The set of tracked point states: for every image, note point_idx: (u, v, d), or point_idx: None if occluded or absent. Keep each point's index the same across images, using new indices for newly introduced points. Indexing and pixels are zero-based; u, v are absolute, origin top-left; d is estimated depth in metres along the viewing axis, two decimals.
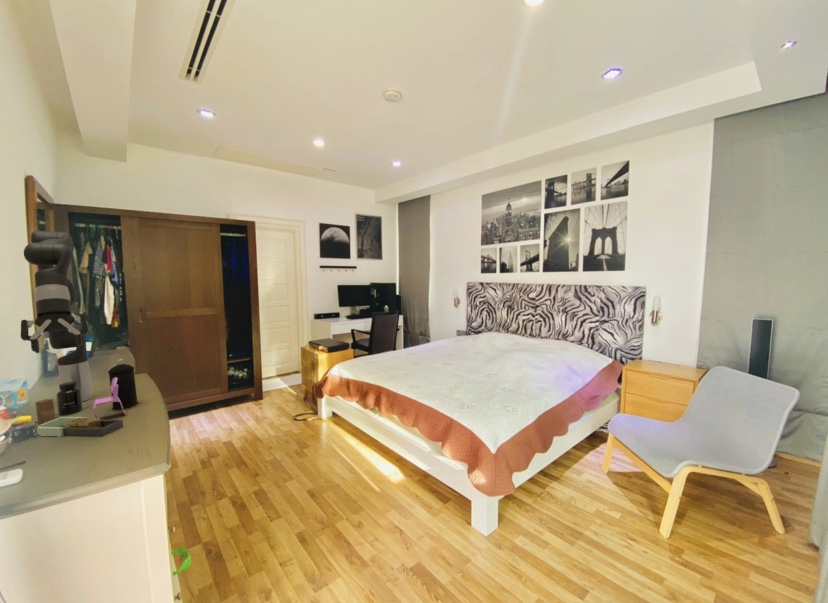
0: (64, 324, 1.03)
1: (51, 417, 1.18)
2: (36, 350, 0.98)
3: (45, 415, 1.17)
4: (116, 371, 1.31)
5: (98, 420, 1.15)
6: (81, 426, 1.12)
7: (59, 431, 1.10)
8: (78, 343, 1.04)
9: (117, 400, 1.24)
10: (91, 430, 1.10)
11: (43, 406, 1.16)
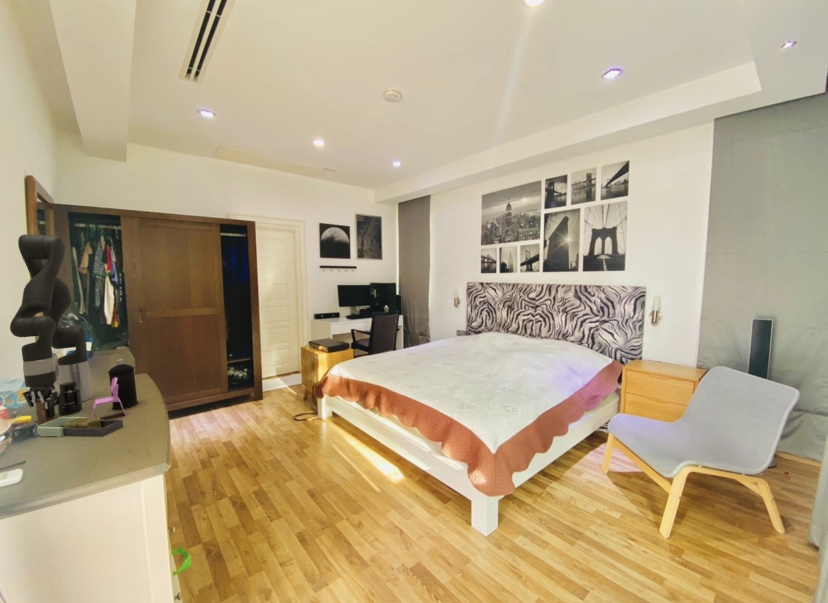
0: (40, 397, 1.16)
1: None
2: None
3: (45, 415, 1.17)
4: (116, 371, 1.31)
5: (98, 420, 1.15)
6: (81, 426, 1.12)
7: (59, 431, 1.10)
8: (48, 416, 1.17)
9: (117, 400, 1.24)
10: (91, 430, 1.10)
11: (43, 406, 1.16)
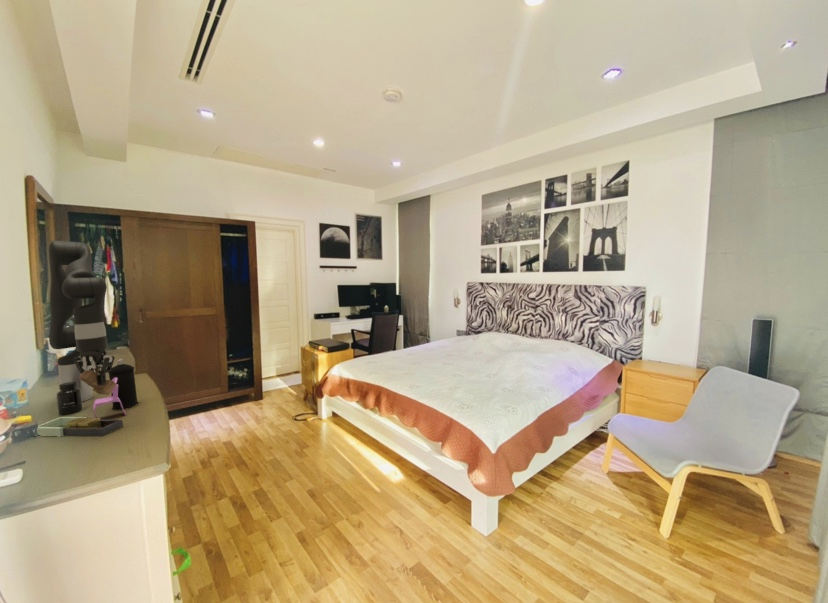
0: (92, 362, 1.10)
1: None
2: (89, 385, 1.11)
3: None
4: (116, 371, 1.31)
5: (98, 420, 1.15)
6: (81, 426, 1.12)
7: (59, 431, 1.10)
8: (99, 383, 1.11)
9: (117, 400, 1.24)
10: (91, 430, 1.10)
11: (90, 380, 1.09)
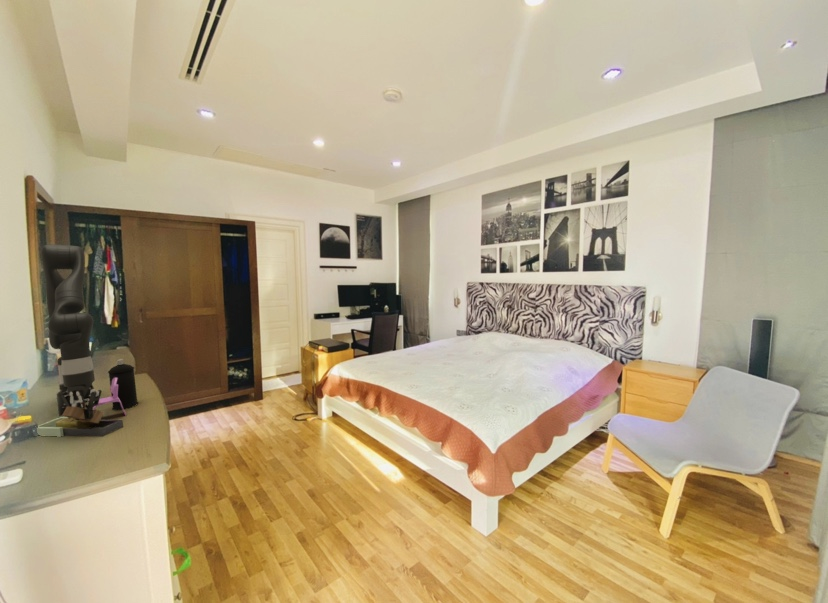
0: (79, 397, 1.11)
1: None
2: (76, 419, 1.12)
3: None
4: (116, 371, 1.31)
5: None
6: (69, 425, 1.13)
7: (59, 431, 1.10)
8: (86, 417, 1.12)
9: (117, 400, 1.24)
10: (91, 430, 1.10)
11: (74, 416, 1.09)
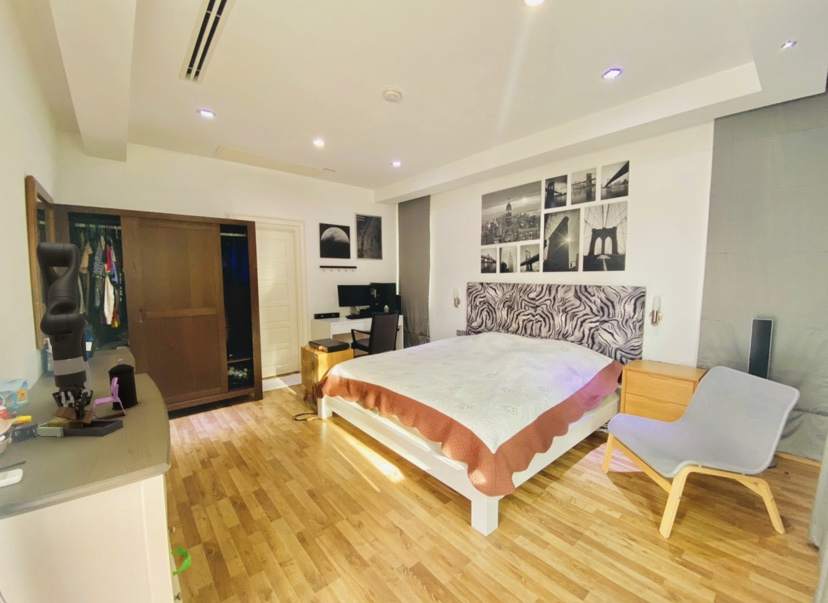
0: (70, 397, 1.11)
1: None
2: (68, 419, 1.13)
3: None
4: (116, 371, 1.31)
5: None
6: (62, 425, 1.13)
7: (59, 431, 1.10)
8: (78, 417, 1.12)
9: (117, 400, 1.24)
10: (91, 430, 1.10)
11: (65, 416, 1.09)
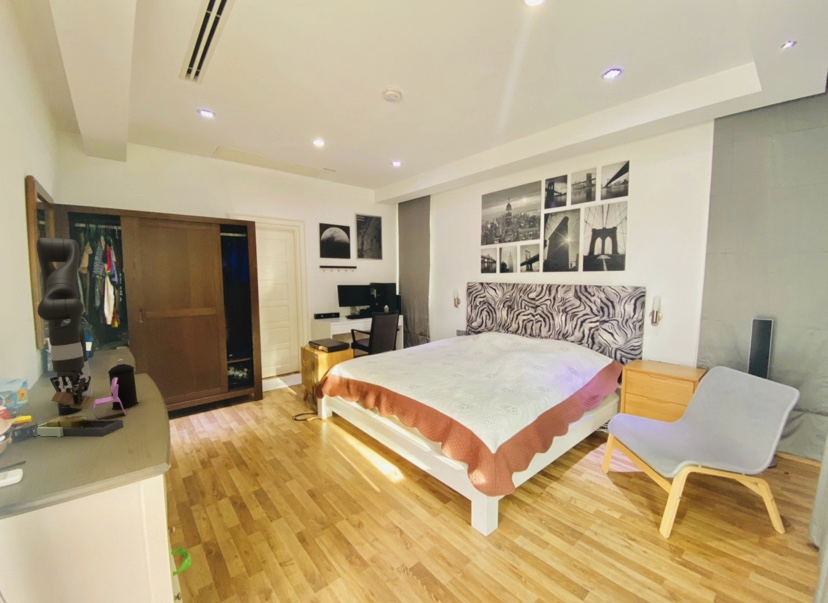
0: (68, 382, 1.11)
1: None
2: (65, 404, 1.13)
3: None
4: (116, 371, 1.31)
5: (80, 418, 1.17)
6: (63, 424, 1.14)
7: (59, 431, 1.10)
8: (76, 402, 1.13)
9: (117, 400, 1.24)
10: (91, 430, 1.10)
11: (63, 401, 1.09)
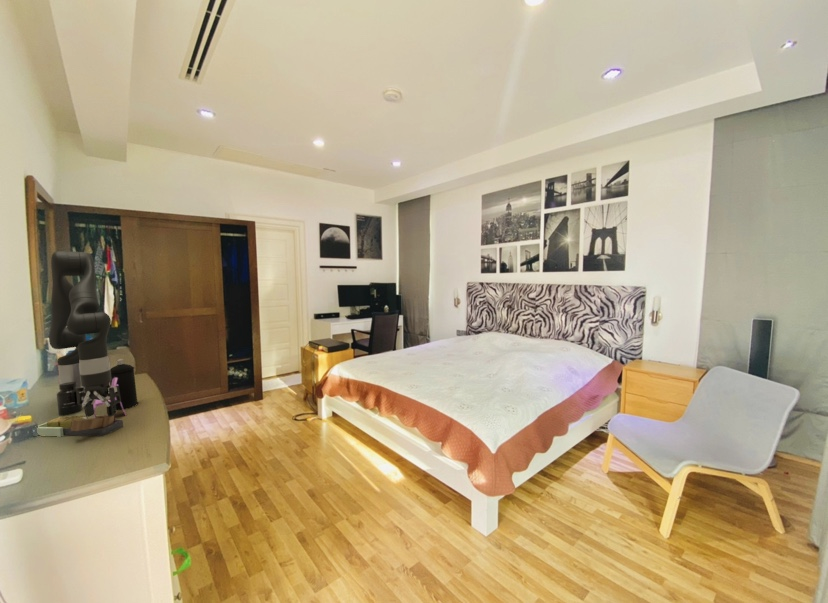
0: (98, 396, 1.11)
1: (101, 421, 1.12)
2: (86, 415, 1.12)
3: (95, 427, 1.10)
4: (116, 371, 1.31)
5: (81, 418, 1.17)
6: (63, 424, 1.14)
7: (59, 431, 1.10)
8: (109, 414, 1.12)
9: None
10: (91, 430, 1.10)
11: (83, 429, 1.07)
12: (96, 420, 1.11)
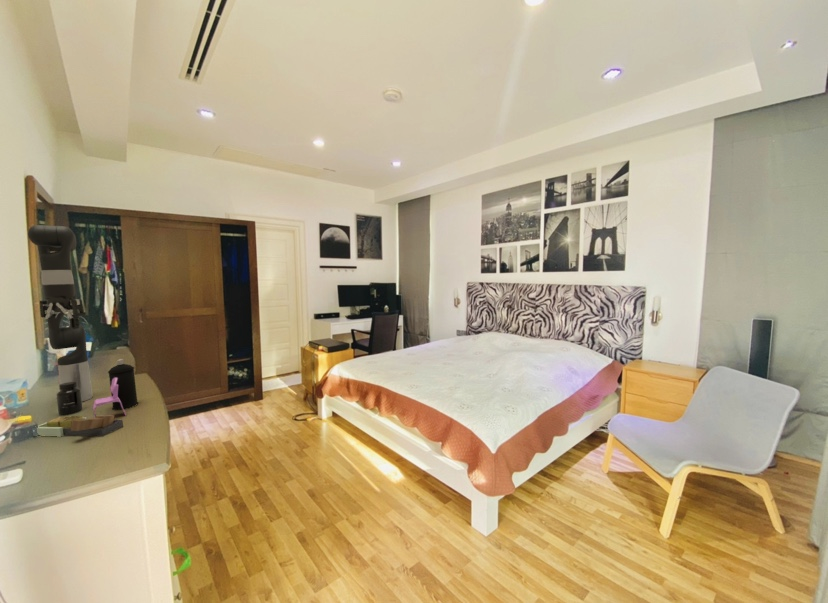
0: (61, 308, 1.12)
1: (101, 421, 1.12)
2: (50, 328, 1.14)
3: (95, 427, 1.10)
4: (116, 371, 1.31)
5: (80, 418, 1.17)
6: (63, 424, 1.14)
7: (59, 431, 1.10)
8: (72, 326, 1.13)
9: (117, 400, 1.24)
10: (91, 430, 1.10)
11: (83, 429, 1.07)
12: (96, 420, 1.11)
